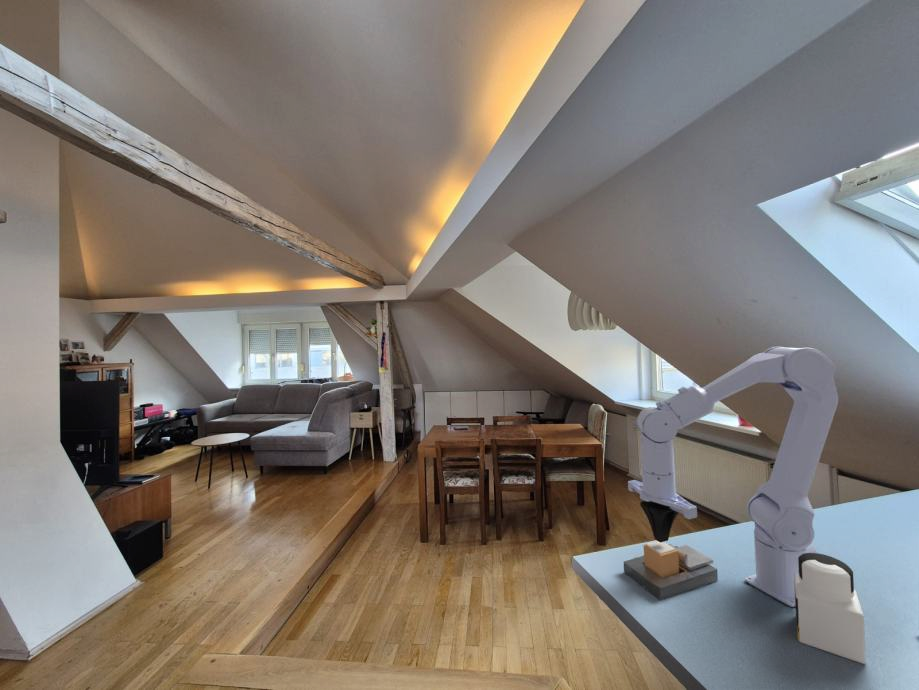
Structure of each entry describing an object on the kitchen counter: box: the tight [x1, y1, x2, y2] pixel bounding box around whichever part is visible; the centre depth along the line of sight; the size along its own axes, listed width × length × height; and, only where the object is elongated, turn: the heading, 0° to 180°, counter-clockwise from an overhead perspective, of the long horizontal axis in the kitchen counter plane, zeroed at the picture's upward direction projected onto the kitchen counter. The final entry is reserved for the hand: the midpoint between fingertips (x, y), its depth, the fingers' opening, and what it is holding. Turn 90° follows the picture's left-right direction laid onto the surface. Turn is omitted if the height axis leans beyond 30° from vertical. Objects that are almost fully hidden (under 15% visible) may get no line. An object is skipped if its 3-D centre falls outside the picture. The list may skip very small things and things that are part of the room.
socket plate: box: [623, 545, 719, 601], centre depth 75 cm, size 14×9×2 cm, turn 108°
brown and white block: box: [643, 540, 679, 578], centre depth 74 cm, size 4×4×6 cm
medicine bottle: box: [794, 552, 867, 665], centre depth 58 cm, size 7×7×12 cm
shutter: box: [667, 543, 714, 570], centre depth 76 cm, size 6×6×2 cm
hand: (661, 539), depth 74 cm, fingers closed
